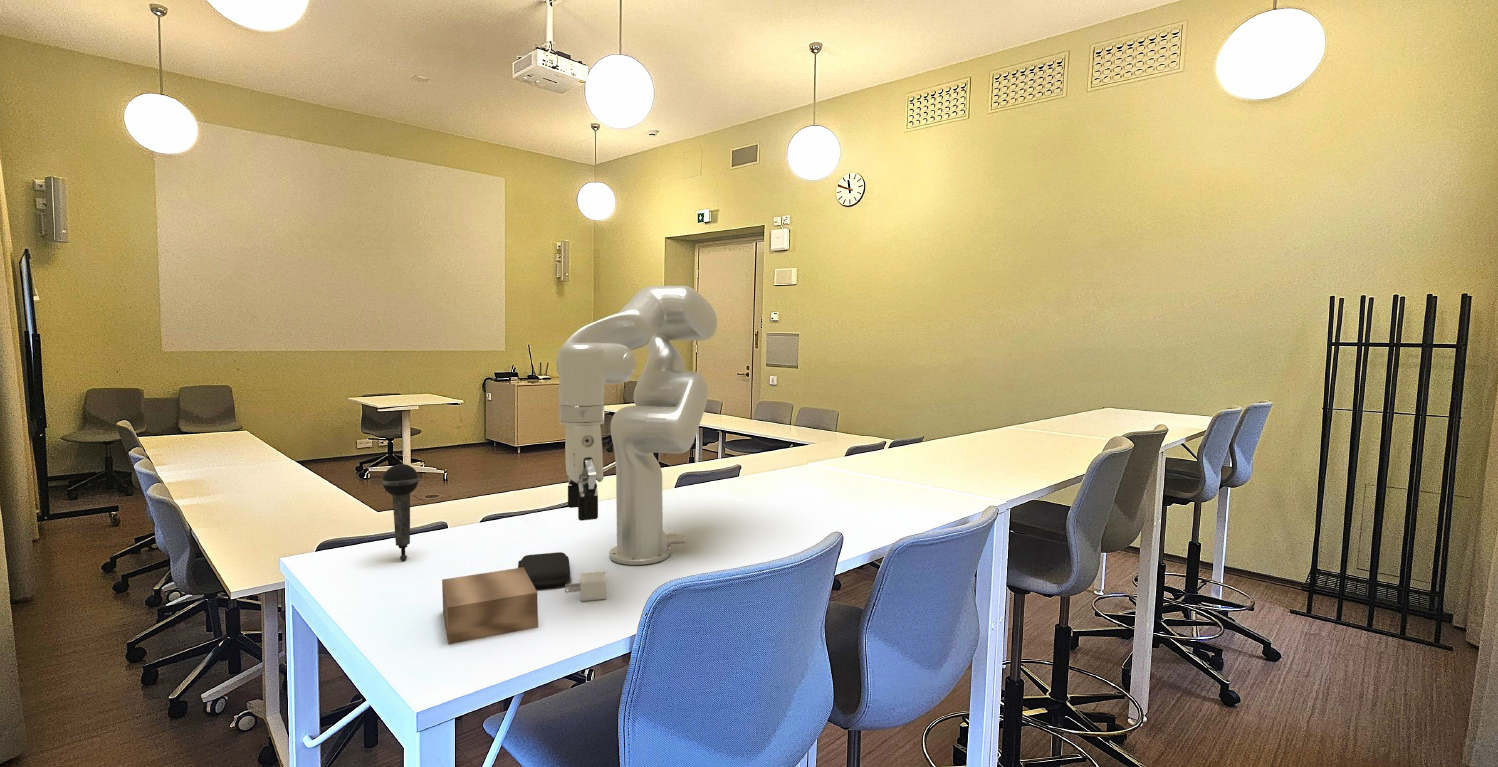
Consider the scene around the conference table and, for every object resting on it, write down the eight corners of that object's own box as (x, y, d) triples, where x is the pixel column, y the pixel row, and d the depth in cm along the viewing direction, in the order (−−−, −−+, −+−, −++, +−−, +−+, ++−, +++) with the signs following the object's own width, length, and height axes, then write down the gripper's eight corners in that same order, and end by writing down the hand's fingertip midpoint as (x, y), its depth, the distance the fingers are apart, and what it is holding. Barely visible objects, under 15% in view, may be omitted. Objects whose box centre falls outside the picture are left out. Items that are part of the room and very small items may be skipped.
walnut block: (524, 600, 118) (523, 567, 118) (538, 629, 107) (537, 592, 106) (443, 614, 112) (442, 579, 112) (448, 646, 101) (447, 607, 100)
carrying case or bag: (513, 568, 135) (509, 595, 121) (513, 553, 135) (509, 578, 120) (568, 563, 138) (571, 589, 124) (568, 548, 138) (570, 573, 124)
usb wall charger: (606, 600, 118) (605, 578, 118) (565, 603, 116) (564, 581, 116) (605, 591, 122) (605, 570, 121) (565, 595, 120) (565, 573, 120)
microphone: (424, 562, 137) (421, 465, 136) (386, 568, 133) (383, 468, 132) (419, 553, 143) (416, 459, 141) (382, 559, 139) (379, 463, 138)
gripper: (615, 419, 110) (615, 522, 111) (593, 410, 126) (593, 500, 127) (568, 421, 107) (569, 527, 108) (551, 411, 123) (552, 504, 124)
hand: (582, 512), depth 117 cm, fingers open, 9 cm apart
